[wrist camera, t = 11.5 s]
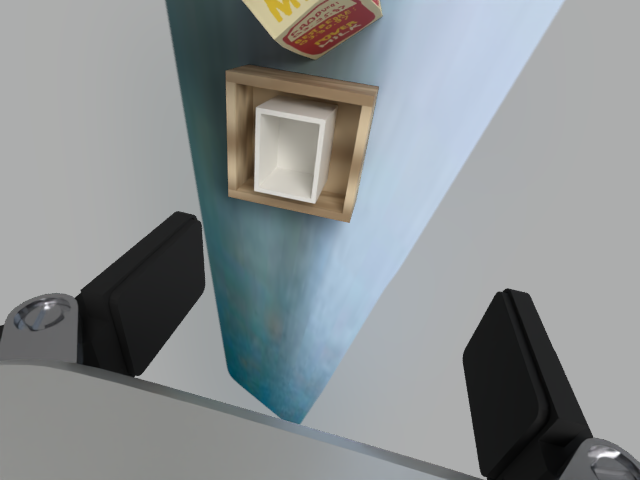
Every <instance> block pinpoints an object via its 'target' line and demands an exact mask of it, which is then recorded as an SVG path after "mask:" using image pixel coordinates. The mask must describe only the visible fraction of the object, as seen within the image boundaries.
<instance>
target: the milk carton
mask: <svg viewBox="0 0 640 480" xmlns="http://www.w3.org/2000/svg"><path fill="white" fill-rule="evenodd" d="M242 1H243V2H244V3H245V4H246V6H247V7H248V8H249V9H250V10H251V12H252V13H253V14H254V15H255V17H256V18H257V19H258V20H259V22H260V23H261V24H262V25H263V27H264V28H265V29H266V30H267V32H268V33H269V34H270V35H271V37H272V38H273V39H274V40H275V41H276V42H277V43H279V44H280V45H281V46H282V47H283V48H286V49H288V50H290V51H292V52H295V53H297V54H299V55H302V56H305V57H308V58H311V59H314V60H316V59H318V58H319V57H321V56H323V55H324V54H326V53H327V52H329V51H330V50H332V49H333V48H335V47H336V46H338V45H339V44H341V43H342V42H344V41H346V40H347V39H349V38H350V37H352V36H353V35H355V34H356V33H358V32H359V31H361V30H362V29H364V28H365V27H367V26H368V25H370V24H372V23H373V22H375V21H376V20H378V19H379V18H381V17H382V16H383V15H382V10H381V5H380V1H379V0H242Z"/></svg>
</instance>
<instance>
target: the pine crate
mask: <svg viewBox="0 0 640 480" xmlns="http://www.w3.org/2000/svg"><path fill="white" fill-rule="evenodd" d="M378 89H379V87H378V86H372V85H366V84H360V83H354V82H348V81H343V80H337V79H331V78H325V77H319V76H313V75H307V74H302V73H296V72H290V71H284V70H278V69H272V68H266V67H260V66H255V65H249V64H248V65H245V66H241V67H237V68H233V69H229V70H226V110H227V154H228V197H232V198H237V199H242V200H246V201H251V202H256V203H260V204H265V205H269V206H274V207H279V208H283V209H288V210H293V211H297V212H302V213H307V214H311V215H316V216H320V217H325V218H330V219H334V220H339V221H344V222H348V223H350V219H351V216H352V213H353V209H354V206H355V202H356V198H357V193H358V188H359V183H360V178H361V173H362V168H363V163H364V158H365V153H366V149H367V144H368V139H369V134H370V129H371V124H372V119H373V114H374V109H375V104H376V99H377V94H378ZM277 95H282V96H288V97H293V98H299V99H305V100H310V101H316V102H322V103H327V104H333V105H338V110H337V117H336V124H335V130H334V137H333V144H332V151H331V158H330V165H329V172H328V179H327V182H326V184H325V185H324V187H323V189H322V191H321V193H320V195H319V197H318V199H317V201H316V203H315V204H314V203H309V202H304V201H300V200H295V199H290V198H285V197H280V196H276V195H271V194H266V193H261V192H257V191H254V175H255V125H256V107H257V106H259V105H261V104H263V103H264V102H266V101H268V100H270V99H272V98H273V97H275V96H277Z"/></svg>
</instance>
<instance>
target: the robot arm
mask: <svg viewBox="0 0 640 480" xmlns="http://www.w3.org/2000/svg"><path fill="white" fill-rule="evenodd" d="M204 288H205V272H204V256H203V240H202V225H201V222H200V221H198V220H197V218H196V216H195V215H192V214H188V213H183V212H179V211H178V212H175V213H173V214H172V215H171V216H170V217H169V218H167V219H166V220H165V221H164V222H163V223H162V224H160V225H159V226H158V227H157V228H155V229H154V230H153V231H152V232H151V233H150V234H148V235H147V236H146V237H145V238H143V239H142V240H141V241H140V242H138V243H137V244H136V245H135V246H133V247H132V248H131V249H130V250H129V251H128V252H126V253H125V254H124V255H123V256H121V257H120V258H119V259H118V260H117V261H115V262H114V263H113V264H112V265H110V266H109V267H108V268H107V269H106V270H104V271H103V272H102V273H101V274H100V275H98V276H97V277H96V278H95V279H93V280H92V281H91V282H90V283H89V284H87V285H86V286H85V287H84V288H83V289H81V293H80V294H79V295H78V296H76V297H75V298H73V297H72V296H70V295H67V294H60V293H52V294H45V295H41V296H38V297H34V298H32V299H29V300H27V301H25V302H23V303H22V304H20V305H19V306H17V307H16V308H14V309H13V310H12V311H11V313H10V314H9V315H8V317H7V319H6V321H5V324H4V325H2V326H0V480H483V479H480V478H476V477H473V476H470V475H467V474H464V473H461V472H457V471H454V470H451V469H448V468H445V467H442V466H438V465H435V464H431V463H428V462H425V461H421V460H418V459H414V458H411V457H408V456H404V455H401V454H398V453H394V452H391V451H388V450H384V449H381V448H377V447H374V446H370V445H367V444H364V443H360V442H357V441H354V440H350V439H347V438H343V437H340V436H337V435H333V434H330V433H326V432H323V431H320V430H316V429H312V428H309V427H306V426H302V425H299V424H296V423H292V422H289V421H285V420H282V419H278V418H275V417H271V416H268V415H265V414H261V413H257V412H254V411H251V410H247V409H244V408H240V407H236V406H233V405H230V404H226V403H223V402H219V401H216V400H212V399H209V398H205V397H202V396H198V395H195V394H191V393H188V392H184V391H180V390H177V389H173V388H170V387H167V386H163V385H160V384H156V383H153V382H148V381H145V380H141V379H138V378H134V377H135V376H139V375H141V374H142V373H143V372H144V371H145V369H146V368H147V367H148V365H149V364H150V362H151V361H152V360H153V359H154V358H155V356H156V355H157V354H158V352H159V350H161V348H162V347H163V345H164V344H165V343H166V341H167V340H168V339H169V338H170V336H171V335H172V334H173V332H174V331H175V329H176V328H177V327H178V325H179V324H180V323H181V321H182V320H183V319H184V317H185V316H186V315H187V314H188V312H189V311H190V310H191V308H192V307H193V305H194V304H195V303H196V302H197V300H198V299H199V297H200V296H201V295H202V293H203V291H204ZM463 366H464V373H465V379H466V385H467V392H468V398H469V404H470V411H471V417H472V423H473V430H474V436H475V442H476V448H477V454H478V461H479V467H480V472H481V474H482V475H483V476H484V477H487V480H640V462H638V461H637V460H636V459H635V458H634V457H633V456H632V455H630V454H629V453H628V452H627V451H625V450H624V449H622V448H621V447H619V446H618V445H616V444H614V443H611V442H609V441H607V440H604V439H599V438H593V435H592V433H591V431H590V429H589V426H588V424H587V422H586V420H585V417H584V416H583V413H582V411H581V408H580V406H579V404H578V402H577V400H576V397H575V395H574V393H573V390H572V388H571V386H570V384H569V381H568V380H567V377H566V375H565V373H564V370H563V368H562V366H561V363H560V361H559V359H558V356H557V354H556V352H555V351H554V349H553V347H552V344H551V342H550V340H549V338H548V335H547V333H546V331H545V328H544V326H543V324H542V322H541V319H540V317H539V315H538V313H537V310H536V308H535V306H534V303H533V301H532V299H531V297H530V295H529V294H528V293H525V292H520V291H516V290H512V289H505V290H504V291H503V292H497V293H496V295H495V296H494V298H493V300H492V302H491V303H490V305H489V307H488V309H487V311H486V312H485V315H484V316H483V318H482V320H481V321H480V323H479V325H478V327H477V329H476V330H475V332H474V334H473V336H472V338H471V339H470V341H469V343H468V345H467V346H466V348H465V350H464V354H463Z"/></svg>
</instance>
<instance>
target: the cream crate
mask: <svg viewBox="0 0 640 480" xmlns="http://www.w3.org/2000/svg"><path fill="white" fill-rule="evenodd" d="M337 110H338V105H333V104H327V103H322V102H316V101H310V100H305V99H299V98H293V97H288V96H282V95H277V96H275V97H273V98H272V99H270V100H268V101H266V102H264V103H263V104H261V105H259V106H257V107H256V125H255V175H254V191H257V192H261V193H266V194H271V195H276V196H280V197H285V198H290V199H295V200H300V201H304V202H309V203H314V204H315V203H316V201H317V199H318V197H319V195H320V193H321V191H322V189H323V187H324V185H325V184H326V182H327V179H328V172H329V165H330V158H331V151H332V144H333V137H334V130H335V124H336V117H337Z"/></svg>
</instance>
